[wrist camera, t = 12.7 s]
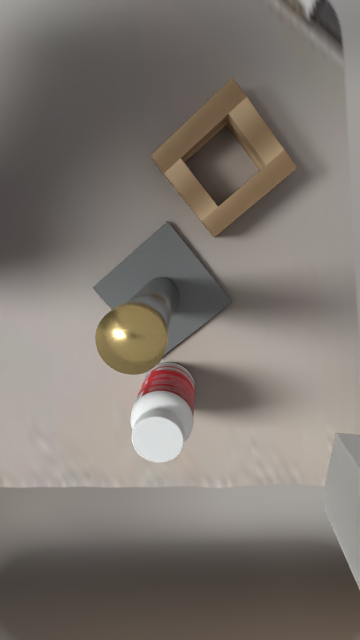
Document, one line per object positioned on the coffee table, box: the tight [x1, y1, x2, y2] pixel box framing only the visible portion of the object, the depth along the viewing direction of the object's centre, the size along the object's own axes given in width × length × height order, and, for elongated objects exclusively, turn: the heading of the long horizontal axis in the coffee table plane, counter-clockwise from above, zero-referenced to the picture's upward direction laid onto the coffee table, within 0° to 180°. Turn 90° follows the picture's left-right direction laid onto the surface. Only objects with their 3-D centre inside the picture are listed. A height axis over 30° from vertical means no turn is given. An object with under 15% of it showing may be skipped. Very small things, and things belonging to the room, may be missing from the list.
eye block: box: [150, 77, 297, 237], centre depth 32 cm, size 10×10×3 cm
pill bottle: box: [131, 363, 195, 462], centre depth 34 cm, size 6×6×11 cm
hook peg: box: [96, 277, 179, 375], centre depth 29 cm, size 5×5×16 cm
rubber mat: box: [93, 222, 232, 355], centre depth 36 cm, size 11×11×1 cm
